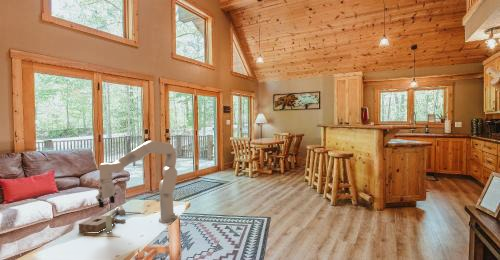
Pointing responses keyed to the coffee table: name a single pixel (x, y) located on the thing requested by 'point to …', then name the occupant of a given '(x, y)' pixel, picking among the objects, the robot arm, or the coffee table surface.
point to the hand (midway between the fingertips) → (107, 205)
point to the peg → (108, 223)
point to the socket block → (94, 224)
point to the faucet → (121, 213)
